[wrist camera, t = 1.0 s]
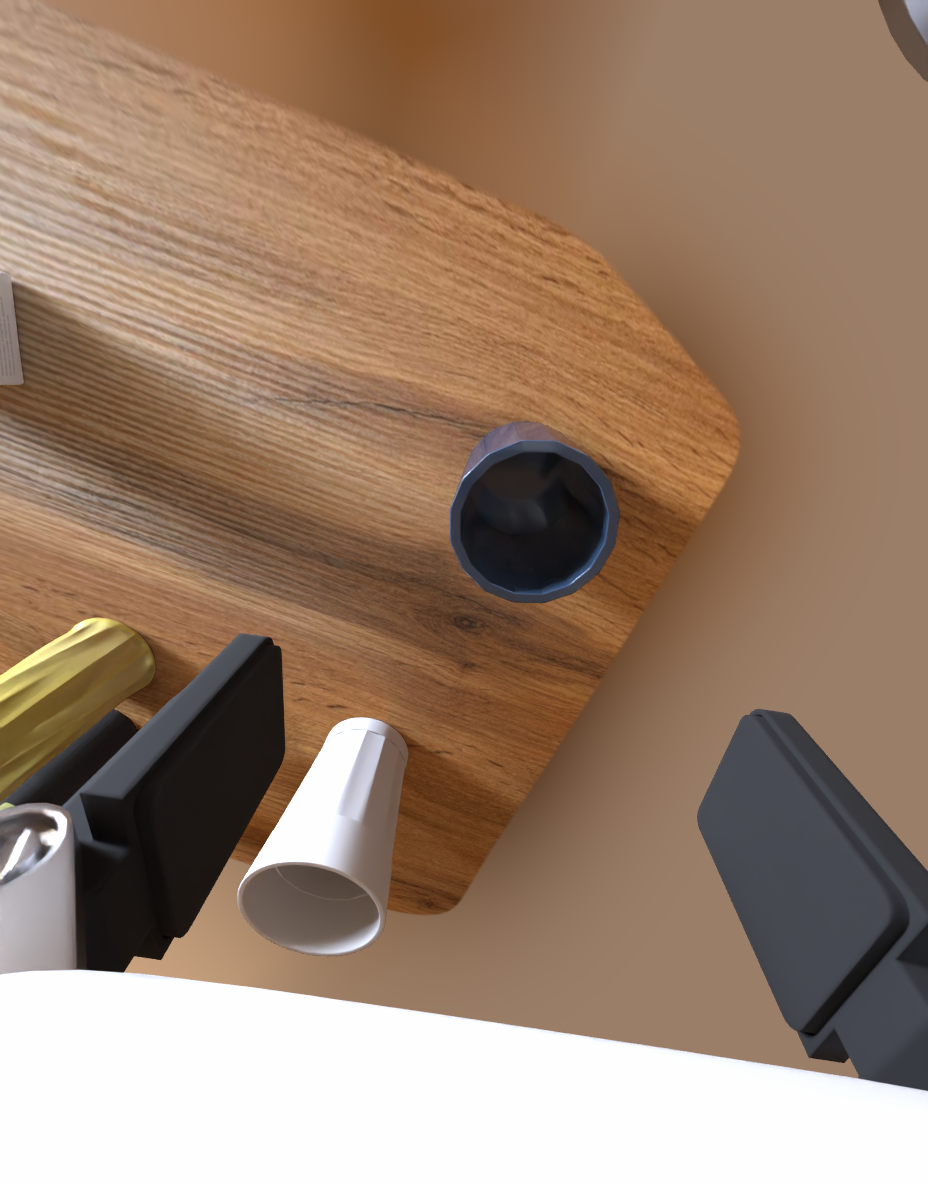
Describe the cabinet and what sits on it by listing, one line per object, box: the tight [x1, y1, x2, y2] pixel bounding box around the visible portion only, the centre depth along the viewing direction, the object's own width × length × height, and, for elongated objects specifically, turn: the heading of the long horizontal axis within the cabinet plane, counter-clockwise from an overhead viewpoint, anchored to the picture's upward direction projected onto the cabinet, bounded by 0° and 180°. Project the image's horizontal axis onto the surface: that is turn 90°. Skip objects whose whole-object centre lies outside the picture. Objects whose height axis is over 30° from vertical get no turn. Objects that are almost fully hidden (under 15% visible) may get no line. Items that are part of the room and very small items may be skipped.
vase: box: [0, 618, 156, 803], centre depth 27 cm, size 6×6×14 cm
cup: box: [237, 718, 408, 957], centre depth 31 cm, size 8×8×12 cm
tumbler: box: [450, 421, 620, 603], centre depth 23 cm, size 7×7×9 cm
